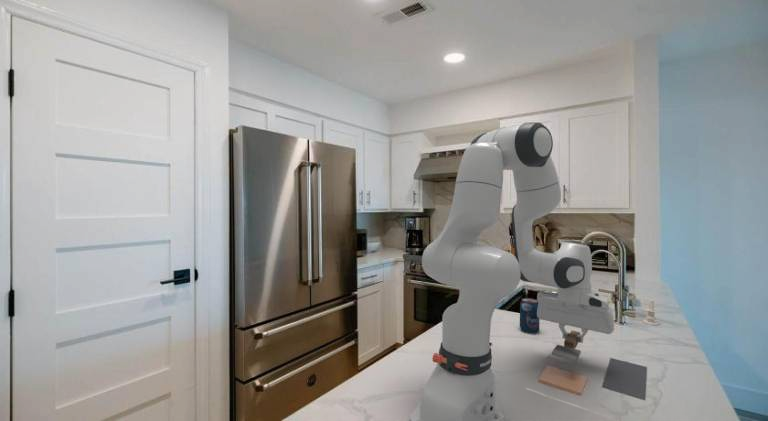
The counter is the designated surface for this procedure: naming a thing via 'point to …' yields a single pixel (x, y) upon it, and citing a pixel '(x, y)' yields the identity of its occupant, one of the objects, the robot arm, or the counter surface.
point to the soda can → (529, 316)
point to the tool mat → (626, 378)
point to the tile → (563, 380)
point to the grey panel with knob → (568, 348)
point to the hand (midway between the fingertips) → (572, 340)
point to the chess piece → (651, 314)
